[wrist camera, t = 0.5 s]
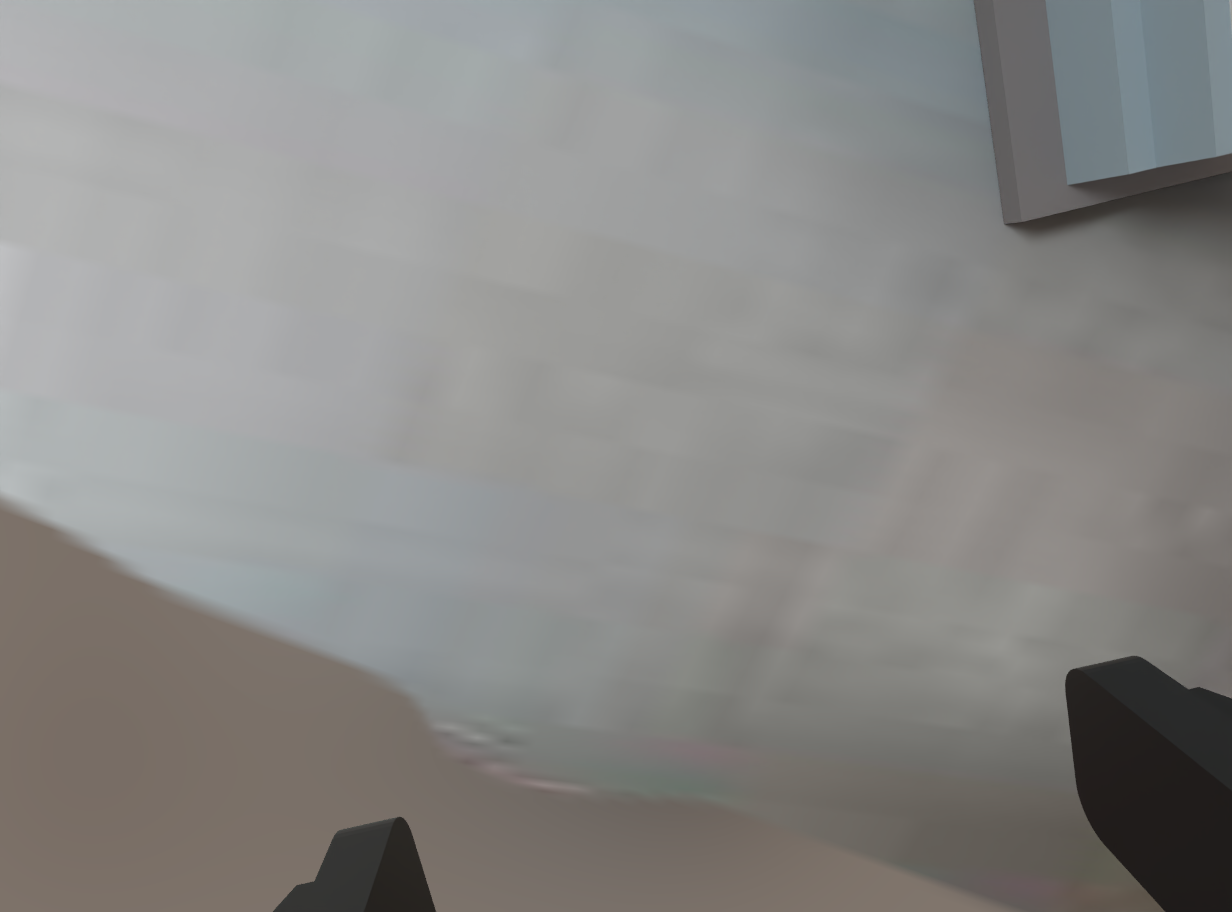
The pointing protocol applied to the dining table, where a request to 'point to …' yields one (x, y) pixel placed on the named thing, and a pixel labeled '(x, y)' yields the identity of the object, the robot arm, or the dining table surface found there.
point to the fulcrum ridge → (1104, 98)
